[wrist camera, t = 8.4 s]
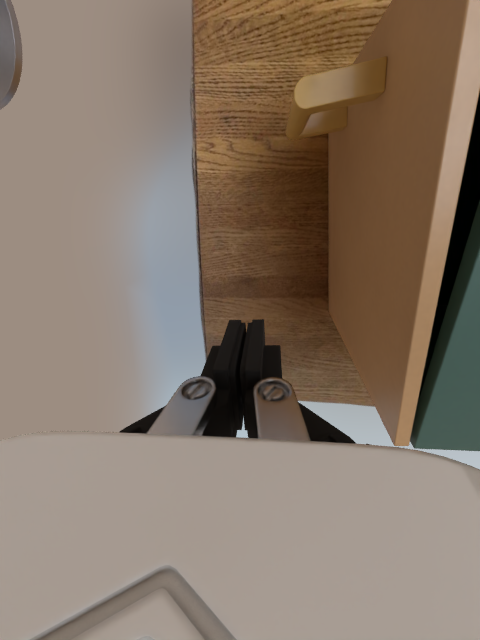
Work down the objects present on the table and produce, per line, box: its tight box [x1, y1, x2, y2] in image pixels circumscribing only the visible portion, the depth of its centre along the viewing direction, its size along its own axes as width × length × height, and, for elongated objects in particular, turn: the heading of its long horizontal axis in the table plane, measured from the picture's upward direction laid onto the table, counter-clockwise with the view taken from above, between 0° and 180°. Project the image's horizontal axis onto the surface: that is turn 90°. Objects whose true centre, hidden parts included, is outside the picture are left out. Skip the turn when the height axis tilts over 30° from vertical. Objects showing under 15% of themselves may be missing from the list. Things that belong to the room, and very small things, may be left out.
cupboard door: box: [286, 0, 480, 446], centre depth 24 cm, size 6×26×24 cm, turn 9°
